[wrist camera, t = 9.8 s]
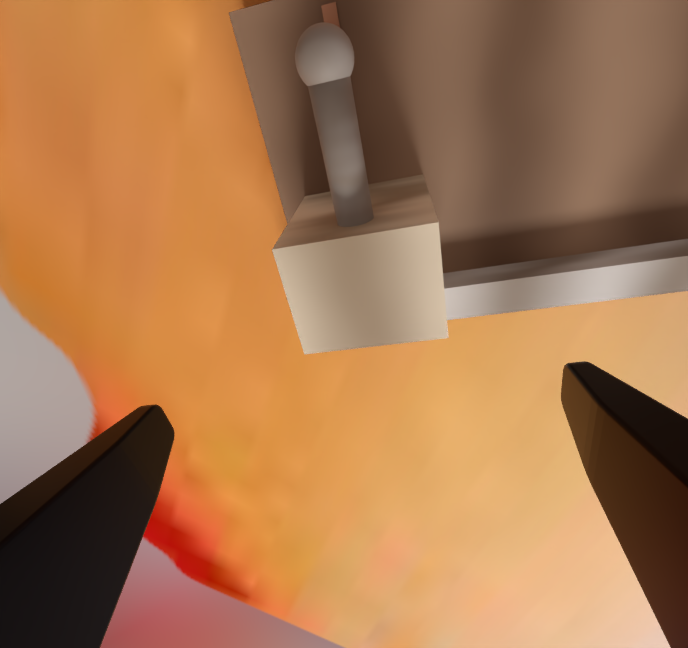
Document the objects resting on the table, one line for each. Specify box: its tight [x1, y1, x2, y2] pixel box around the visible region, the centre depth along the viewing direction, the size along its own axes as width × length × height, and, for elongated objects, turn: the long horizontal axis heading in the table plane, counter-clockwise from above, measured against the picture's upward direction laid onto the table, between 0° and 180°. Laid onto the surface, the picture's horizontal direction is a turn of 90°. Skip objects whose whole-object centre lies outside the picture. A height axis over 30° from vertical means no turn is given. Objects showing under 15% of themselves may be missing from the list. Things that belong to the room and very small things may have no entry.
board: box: [229, 0, 688, 320], centre depth 16 cm, size 20×13×4 cm, turn 102°
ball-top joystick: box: [272, 22, 448, 354], centre depth 14 cm, size 5×9×6 cm, turn 12°
